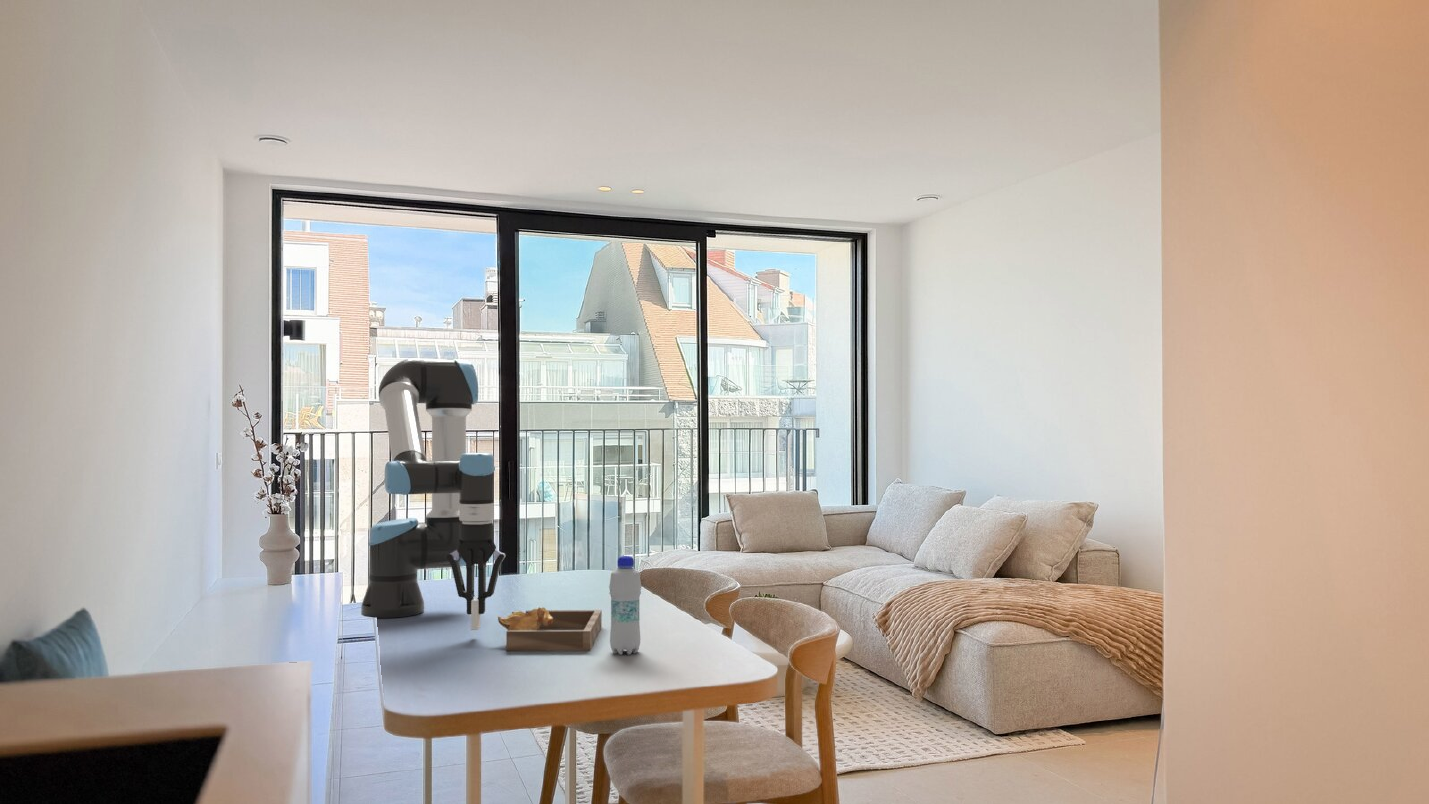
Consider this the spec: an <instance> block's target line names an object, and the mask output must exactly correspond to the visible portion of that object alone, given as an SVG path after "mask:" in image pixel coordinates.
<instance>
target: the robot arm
mask: <svg viewBox="0 0 1429 804" xmlns="http://www.w3.org/2000/svg"><path fill="white" fill-rule="evenodd" d="M477 376H478V375H477V373H476V369H475V366H474V365H473V363H471V361H469V360H466V359H457V358H418V357H417V358H416V357H415V358H414V357H413V358H407V359H404V360H402V361H399V362H397V363H395V364H394V365H393V366H391V367H390V368H389V369H388V371H387V372H386V373H385V374H384V376H382V379H381V380H380V383H379V387H378V401H379V404H380V406H381V407H382V408H383V409H384V412H385V419H386V427H387V428H386V429H387V434H388V435H387V436H388V441H389V442H388V443H389V448H390V458H391V460H390V461H388V462H386V463H385V467H384V489H385V491H386V493H387V494H389V495H403V496H407V495H425V494H426V495H428V494H431V510H430V511H429V512H428V513H427V514H426V515H425V522H424V523H419V521H418V519H417V518H415V517H408V518H397V519H392V520H386V521H382V522H378V523H376V524H374V525H373V526H371V527H370V530H369V540H368V543H367V544H368V546H369V547H368V548H369V549H368V551H369V560H368V561H369V563H368V585H367V588H366V590H365V595H364V597H363V600H362V603H361V607H360V608H361V609H360V612H361V613H360V614H361V616H363V617H367V618H377V619H378V618H379V619H382V618H383V619H384V618H385V619H389V618H404V617H411V616H414V615H415V616H416V615H419V614H421V613H424V611H425V600H424V597H423V594H422V592H421V589H420V586H419V583H418V570H429V569H430V570H431V569H432V570H433V569H445V568H446V569H449V568H451V571H452V575H453V579H454V583H455V588H456V592H457V596H458V597H459V598H464V599H465V600H466V614H467V615H471V616H470V620H471V621H470V626H471V627H470V630H471V631H479V629H481V621H482V620H481V619H482V618H481V616H482V615H484V614H485V612H486V600H487V598H491V597H492V596H493V595H494V594H495V590H496V586H497V581H498V577H499V573H500V569H501V566H502V562H503V561H504V560H505V558H506V556H507V554H506V553H505V552H501V551H500V550H498V549H497V545H496V544H495V540H494V539H495V537H494V536H495V535H494V534H495V531H494V530H495V524H494V522H492V521H494V519H495V499H494V498H495V470H496V467H495V457H494V455H493V454H492V453H491V452H467V437H466V436H467V416H468V415H469V414H470V413H471V412H472V410H473V407H472V405H476V404H477V403H478V401H479V382H478V377H477ZM418 404H425V412H427V414H428V415H429V416H430V417H431V460H427V456H426V450H425V445H424V440H423V439H424V438H423V434H422V433H423V432H422V428H421V422H420V417H419V411H418V406H417V405H418ZM492 556H493V560H494V563H493V566H492V570H491V573H490V577H489V582H488V586H486V585H487V576H486V575H487V563H488V562H489V560H490V559H491V558H492ZM475 565H477V570H478V572H477V575H478V576H477V598H476V597H475V567H476V566H475ZM462 567H465V569H466V570H465V571H466V574H465V575H466V584H465V583H464V579H463V578H464V577H463V575H462V570H461V568H462ZM465 585H466V586H465ZM486 588H487V589H486Z"/></svg>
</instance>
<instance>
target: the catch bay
mask: <svg viewBox="0 0 1429 804" xmlns="http://www.w3.org/2000/svg"><path fill="white" fill-rule="evenodd" d="M532 610H533V609H532ZM532 610H531V609H530V610H529V609H527V610H525V613H529V612H530V611H532ZM547 610H548V611H549V614H550V616H551V617H553V622H552V624H549V625H548V626H547V625H546V626H544V625H543V623H542V624H541V626H540V627H539V628H538V630H507V631H505V632H506V638H505V639H506V640H505V642H506V647H505V648H506V649H505V650H506V652H525V651H527V652H528V651H529V652H533V651H534V652H536V651H537V652H539V651H540V652H543V651H544V652H545V651H546V652H549V651H557V652H558V651H559V652H560V651H566V652H567V651H570V652H571V651H573V652H574V651H577V652H578V651H584V652H585V651H591V650H592V647H593V645H594V643H595V641H596V640H597V638H598V635H599V633H600V631H601V629H602V628H603V627H602V626H603V625H602V621H603V619H602V615H603V613H602V609H560V610H559V609H547Z"/></svg>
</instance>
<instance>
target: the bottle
mask: <svg viewBox="0 0 1429 804" xmlns="http://www.w3.org/2000/svg"><path fill="white" fill-rule="evenodd" d="M634 565H635V560H634V558H633V557H632V556H630V555H623V556H620V557H618V558H617V568H616V569H614V570H613V571H611V573H610V580H609V584H608V585H609V586H608V588H609V595H610V597H611V598H610V635H609V637H610V638H609V644H610V649H611V652H612V653H613V654H616V655H617V654H618V655H621V656H622V655H623V653H624V651H626V654H627V655H631V654H636V653H638V651H639V650H640V646H641V626H640V596H641V594H642V591H641V590H642V582H641V573H640V570H637V569H636V568H634Z"/></svg>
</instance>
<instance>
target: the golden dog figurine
mask: <svg viewBox="0 0 1429 804" xmlns="http://www.w3.org/2000/svg"><path fill="white" fill-rule="evenodd" d="M548 610H549V609H546V607H538V608H534V609H532V611H530V612H529V613H526V612H524V611H521V610H517V611H512V612H511V614H509V615H507V616H506V617H505V618H504V617H502V616H497V620H498V624H500V625H501V626H502V627H503V628H505V629H506V630H507V631H508V630H539V629H538V628H539V627H540V626H541V624H542V623H543V625H544V626H546V625H547V626H548V625H549V624H552V622H553V617H551V616H550V614H549V611H548Z"/></svg>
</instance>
